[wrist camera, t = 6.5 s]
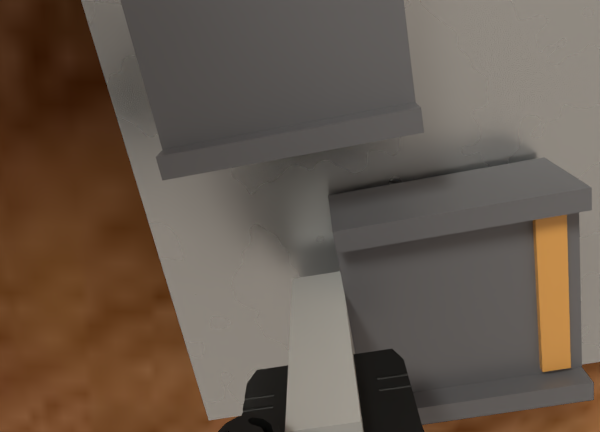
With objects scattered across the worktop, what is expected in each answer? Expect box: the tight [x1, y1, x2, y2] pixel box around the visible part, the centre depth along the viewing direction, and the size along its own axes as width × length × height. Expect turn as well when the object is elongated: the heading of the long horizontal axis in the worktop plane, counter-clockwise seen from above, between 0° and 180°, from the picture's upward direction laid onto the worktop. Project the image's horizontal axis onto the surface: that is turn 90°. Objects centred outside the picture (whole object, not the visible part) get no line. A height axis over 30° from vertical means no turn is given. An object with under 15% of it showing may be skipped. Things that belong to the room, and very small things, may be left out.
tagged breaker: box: [328, 157, 594, 425], centre depth 16 cm, size 6×6×3 cm
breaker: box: [120, 0, 424, 180], centre depth 14 cm, size 6×6×3 cm
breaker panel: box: [81, 0, 600, 420], centre depth 17 cm, size 25×17×3 cm
